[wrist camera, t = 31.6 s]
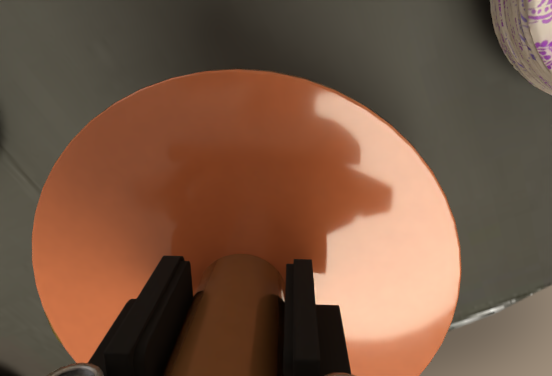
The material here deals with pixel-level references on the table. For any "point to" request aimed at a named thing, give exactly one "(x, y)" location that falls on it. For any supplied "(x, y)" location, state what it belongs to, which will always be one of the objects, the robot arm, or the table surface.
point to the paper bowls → (526, 38)
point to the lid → (249, 223)
